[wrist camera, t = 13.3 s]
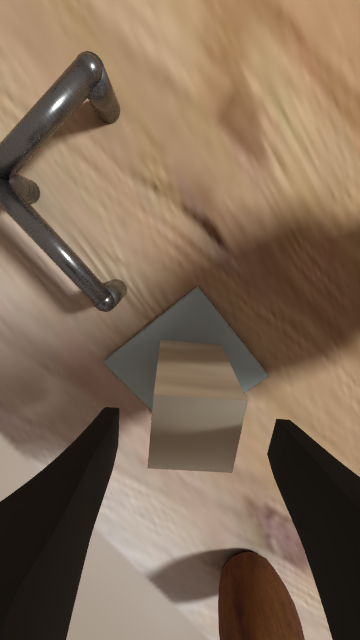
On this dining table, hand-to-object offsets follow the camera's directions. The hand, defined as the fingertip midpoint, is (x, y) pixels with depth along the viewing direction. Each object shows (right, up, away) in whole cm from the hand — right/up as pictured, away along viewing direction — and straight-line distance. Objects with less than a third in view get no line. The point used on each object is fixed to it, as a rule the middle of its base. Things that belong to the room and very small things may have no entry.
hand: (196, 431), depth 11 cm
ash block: (0, +2, +5) cm, 6 cm away
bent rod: (-5, +11, +3) cm, 13 cm away
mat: (0, +2, +6) cm, 6 cm away
